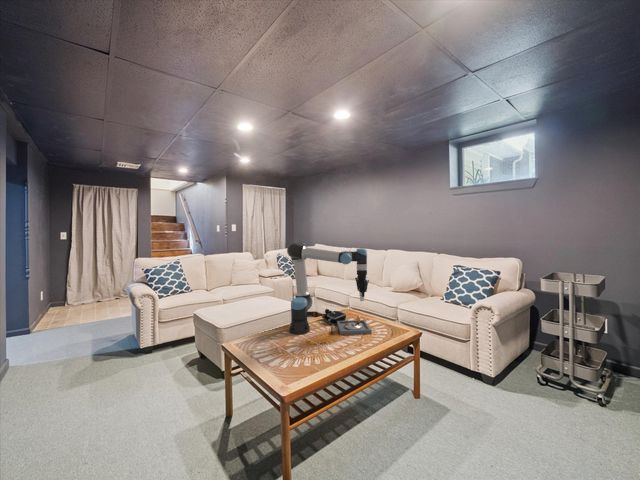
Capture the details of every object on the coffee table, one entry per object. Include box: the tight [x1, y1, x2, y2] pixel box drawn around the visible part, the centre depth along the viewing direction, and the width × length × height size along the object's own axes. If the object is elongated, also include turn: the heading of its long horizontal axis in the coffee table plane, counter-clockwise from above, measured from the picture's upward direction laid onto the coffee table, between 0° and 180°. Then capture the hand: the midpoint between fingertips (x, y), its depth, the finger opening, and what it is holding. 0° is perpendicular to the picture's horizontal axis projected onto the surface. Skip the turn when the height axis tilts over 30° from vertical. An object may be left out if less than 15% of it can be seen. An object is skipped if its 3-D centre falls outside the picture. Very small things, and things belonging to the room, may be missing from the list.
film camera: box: [321, 308, 347, 326], centre depth 235 cm, size 8×16×15 cm
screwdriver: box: [331, 324, 338, 336], centre depth 214 cm, size 3×16×3 cm, turn 3°
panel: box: [336, 319, 372, 336], centre depth 217 cm, size 22×22×3 cm
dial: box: [345, 315, 362, 330], centre depth 217 cm, size 14×13×6 cm
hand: (362, 300), depth 218 cm, fingers closed
